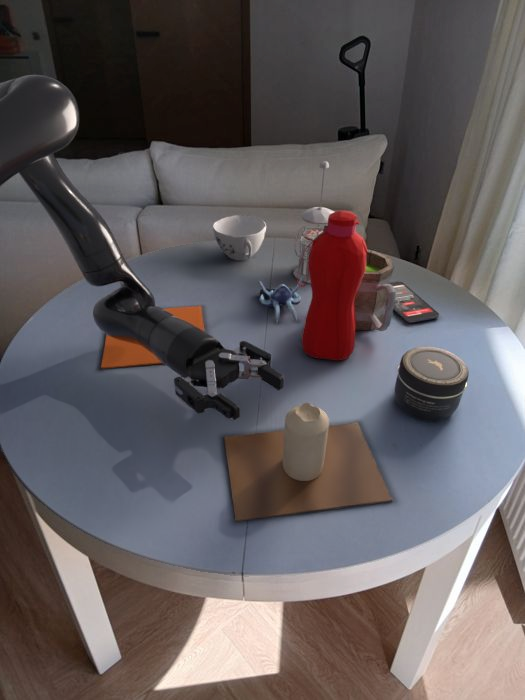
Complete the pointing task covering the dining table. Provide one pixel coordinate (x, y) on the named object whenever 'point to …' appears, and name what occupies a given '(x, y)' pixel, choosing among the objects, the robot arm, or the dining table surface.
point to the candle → (305, 442)
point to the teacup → (239, 235)
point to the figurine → (280, 298)
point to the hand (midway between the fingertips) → (260, 398)
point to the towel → (136, 355)
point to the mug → (375, 294)
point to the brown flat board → (301, 496)
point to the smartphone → (411, 304)
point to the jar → (430, 383)
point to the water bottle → (334, 288)
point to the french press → (311, 232)
